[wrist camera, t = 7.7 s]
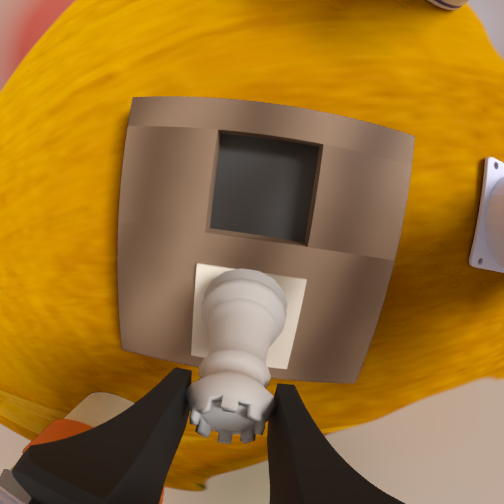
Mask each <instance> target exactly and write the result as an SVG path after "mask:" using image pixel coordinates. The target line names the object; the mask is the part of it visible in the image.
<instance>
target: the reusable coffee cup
mask: <svg viewBox="0 0 504 504" xmlns="http://www.w3.org/2000/svg"><path fill="white" fill-rule="evenodd" d="M133 404H134V403H133V402H132V401H129V400H127V399H125V398H123V397H120V396H117V395H115V394H110V393H106V392H96V393H92V394H90V395H88V396H87V397H86V398H85V399H84V400H83V401H82V402H81V403H80V404H78V405H77V406H76V407H75V408H74V409H73V410H72V411H71V412H70V413H69V414H68V415H67V416H66V417H65V418H64V419H57V420H55V421H53V422H52V423H51V424H50V425H49V426H48V427H47V428H46V429H44V430H43V431H42V432H41V433H40V434H39V435H38V436H37V437H36V438H35V439H34V440H33V441H31V442H30V443H29V444H28V445H27V446H26V447H25V448H24V450H23V453H24V452H25V451H26V450H27V449H28V448H29V446H30V445H37V444H43V443H48V442H53V441H57V440H61V439H65V438H68V437H71V436H74V435H77V434H80V433H82V432H85V431H87V430H90V429H92V428H94V427H96V426H98V425H100V424H102V423H104V422H106V421H108V420H110V419H112V418H113V417H115V416H117V415H118V414H120V413H122V412H123V411H125V410H126V409H128V408H129V407H130V406H132V405H133ZM14 466H15V465H14ZM14 466H13V467H14ZM13 467H12V468H11V469H10V470H8V469H4V470H3V472H2V474H1V476H0V486H1V487H3V488H4V489H5V490H6V491H8V492H9V493H11V494H12V495H13V496H15V497H16V498H17V499H19V500H20V501H22V502H23V503H25V504H28V503H29V502H30V500H31V497H30V496H29V494H28V493H27V492H26V491H25V490H24V489H23V488H22V487H21V485H20V484H19V483H18V482H17V481H16V479H15V478H14V477H13V474H12V471H11V470H12V469H13ZM164 487H165V486H164ZM164 487H163V490H162V494H161V498H160V502H159V504H162V502H163V494H164Z"/></svg>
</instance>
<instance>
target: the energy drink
mask: <svg viewBox="0 0 504 504" xmlns="http://www.w3.org/2000/svg"><path fill="white" fill-rule="evenodd" d="M427 1H429V2H430V3H432V4H434V5H436V6H438V7H440V8H443V9H447V10H457V9H459V8H460V7H461V6H463V5H464V4H465V3H467V2H468V1H469V0H427Z"/></svg>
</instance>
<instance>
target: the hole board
mask: <svg viewBox="0 0 504 504" xmlns="http://www.w3.org/2000/svg"><path fill="white" fill-rule="evenodd" d="M414 140H415V136H413V135H410V134H406V133H403V132H400V131H397V130H394V129H390V128H387V127H383V126H380V125H376V124H372V123H369V122H365V121H361V120H357V119H353V118H348V117H344V116H340V115H335V114H330V113H326V112H321V111H315V110H310V109H304V108H299V107H292V106H286V105H279V104H272V103H264V102H256V101H246V100H236V99H223V98H207V97H133V99H132V104H131V110H130V116H129V122H128V128H127V135H126V142H125V149H124V157H123V166H122V176H121V187H120V200H119V217H118V252H117V270H118V304H119V321H120V334H121V345H122V350H126V351H130V352H133V353H137V354H141V355H145V356H149V357H153V358H158V359H162V360H166V361H171V362H175V363H180V364H185V365H190V366H195V367H199V365H200V364H201V362H202V361H203V359H204V358H205V357H207V355H208V351H209V341H210V339H209V336H208V334H207V332H206V329H205V327H204V324H203V322H202V318H201V313H202V302H203V300H204V293H205V291H206V289H207V288H208V286H209V284H210V282H211V281H212V280H213V279H215V278H216V277H218V276H219V275H221V274H222V273H224V272H226V271H231V270H236V269H241V268H242V269H249V270H256V271H260V272H262V273H264V274H265V275H267V276H269V277H271V278H273V279H274V280H275V281H276V282H277V283H278V285H279V286H280V287H281V288H282V290H283V291H284V293H285V297H286V301H287V309H286V314H287V316H286V320H285V324H284V328H283V331H282V333H281V334H280V335H279V336H278V337H277V339H276V340H275V341H274V342H273V343H272V345H271V346H270V347H269V349H268V353H267V357H266V366H267V367H268V369H269V372H270V375H271V378H276V379H286V380H298V381H311V382H328V383H356V381H357V378H358V376H359V373H360V371H361V368H362V365H363V363H364V360H365V357H366V355H367V352H368V349H369V346H370V344H371V341H372V338H373V335H374V332H375V329H376V326H377V323H378V320H379V316H380V313H381V310H382V307H383V303H384V300H385V296H386V293H387V289H388V286H389V282H390V278H391V274H392V270H393V266H394V262H395V258H396V254H397V249H398V245H399V240H400V235H401V231H402V225H403V220H404V215H405V209H406V203H407V197H408V191H409V184H410V177H411V169H412V160H413V151H414Z"/></svg>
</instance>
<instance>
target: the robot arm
mask: <svg viewBox="0 0 504 504" xmlns="http://www.w3.org/2000/svg"><path fill="white" fill-rule="evenodd" d="M494 164H495V167H494ZM479 259H480V261H479ZM478 261H479V263H478ZM469 264H470V265H471V266H473V267H476V268H481V269H486V270H491V271H497V272H502V273H504V163H503V162H501V161H499V160H497V159H495V158H493V157H487V158H486V159H485V166H484V177H483V186H482V194H481V201H480V208H479V214H478V220H477V225H476V230H475V235H474V240H473V245H472V249H471V253H470V257H469ZM191 372H192V371H191V370H186V369H181V368H174V369H173V370H172V371H171V372H170V373H169V374H168V375H167V376H166V377H165V378H164V379H163V380H162V381H161V382H160V383H159V384H158V385H156V386H155V387H154V388H153V389H152V390H151V391H150V392H148V393H147V394H146V395H145V396H144V397H142V398H141V399H140V400H138V401H137V402H136V403H134V404H133V405H132V406H130V407H129V408H128V409H126V410H125V411H123V412H122V413H120V414H118V415H117V416H115V417H113V418H112V419H110V420H108V421H106V422H104V423H102V424H100V425H98V426H96V427H94V428H92V429H90V430H87V431H85V432H82V433H80V434H77V435H74V436H71V437H68V438H65V439H61V440H57V441H53V442H48V443H43V444H37V445H30V446H29V448H28V449H27V450H26V451H25V452H24V453H23V455H22V456H21V458H20V459H19V460H18V462H17V463H16V465H15V466H14V467H13V469H12V470H11V471H12V474H13V477H14V478H15V479H16V481H17V482H18V483H19V484H20V485H21V487H22V488H23V489H24V490H25V491H26V492H27V493H28V494H29V496H30V497H31V500H30V502H29V503H28V504H159V502H160V498H161V494H162V490H163V487H164V483H165V479H166V476H167V473H168V470H169V468H170V465H171V463H172V460H173V458H174V455H175V453H176V450H177V448H178V445H179V443H180V440H181V438H182V435H183V433H184V430H185V427H186V424H187V420H188V416H189V412H190V410H189V408H188V406H187V405H186V395H185V393H186V390H187V389H188V387H189V386H190V384H191ZM274 400H275V403H276V409H275V412H274V415H273V416H272V417H271V418H270V419H269V420H268V436H267V445H268V462H269V475H270V504H405V503H403V502H401V501H399V500H397V499H395V498H394V497H392V496H390V495H388V494H386V493H385V492H383V491H382V490H380V489H378V488H377V487H375V486H374V485H373V484H371V483H370V482H369V481H367V480H366V479H365V478H364V477H362V476H361V475H360V474H359V473H358V472H356V471H355V470H354V469H353V468H352V467H351V466H350V465H349V464H348V463H347V462H346V461H345V460H344V459H343V458H342V457H341V456H340V455H339V454H338V453H337V452H336V451H335V449H334V448H333V447H332V446H331V444H330V443H329V442H328V441H327V439H326V438H325V437H324V435H323V434H322V433H321V431H320V430H319V428H318V427H317V425H316V424H315V422H314V420H313V419H312V417H311V416H310V414H309V412H308V411H307V409H306V407H305V405H304V403H303V401H302V399H301V398H300V396H299V393H298V391H297V389H296V387H295V386H294V385H289V384H279V383H278V384H277V388H276V392H275V396H274ZM0 504H25V503H23V502H22V501H20V500H19V499H17V498H16V497H15V496H13V495H12V494H11V493H9V492H8V491H6V490H5V489H4V488H3V487H1V486H0Z"/></svg>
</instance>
